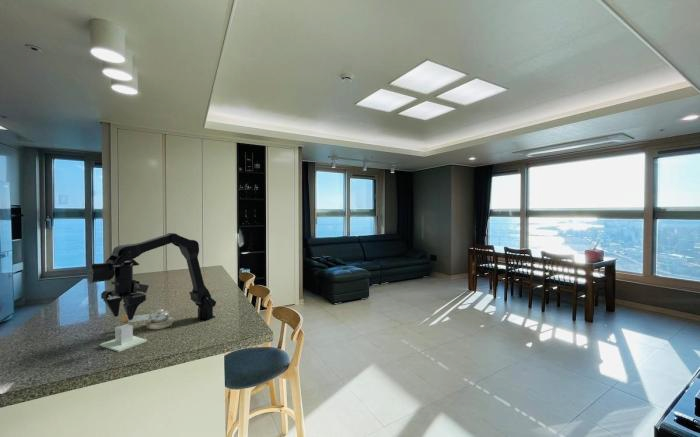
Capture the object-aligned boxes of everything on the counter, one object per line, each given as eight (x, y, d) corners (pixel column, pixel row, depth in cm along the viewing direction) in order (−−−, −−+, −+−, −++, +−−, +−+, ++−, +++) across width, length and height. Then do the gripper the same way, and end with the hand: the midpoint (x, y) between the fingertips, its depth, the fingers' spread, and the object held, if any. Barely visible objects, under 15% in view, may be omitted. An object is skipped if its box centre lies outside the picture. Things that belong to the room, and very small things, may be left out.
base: (177, 323, 135) (177, 318, 135) (156, 330, 126) (156, 326, 126) (163, 319, 139) (163, 315, 139) (141, 327, 130) (141, 322, 130)
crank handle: (169, 316, 137) (169, 306, 137) (168, 321, 131) (168, 310, 131) (123, 322, 129) (123, 312, 129) (120, 327, 123) (120, 316, 123)
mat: (147, 341, 116) (147, 339, 116) (118, 351, 107) (118, 350, 107) (128, 335, 120) (128, 334, 120) (99, 345, 111) (99, 344, 111)
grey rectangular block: (132, 340, 115) (132, 325, 114) (121, 344, 111) (121, 329, 111) (126, 339, 116) (126, 324, 116) (115, 343, 112) (115, 327, 112)
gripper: (160, 276, 117) (159, 315, 117) (131, 272, 124) (131, 308, 124) (129, 282, 106) (129, 324, 107) (100, 277, 114) (100, 317, 114)
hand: (123, 318), depth 113 cm, fingers open, 9 cm apart
